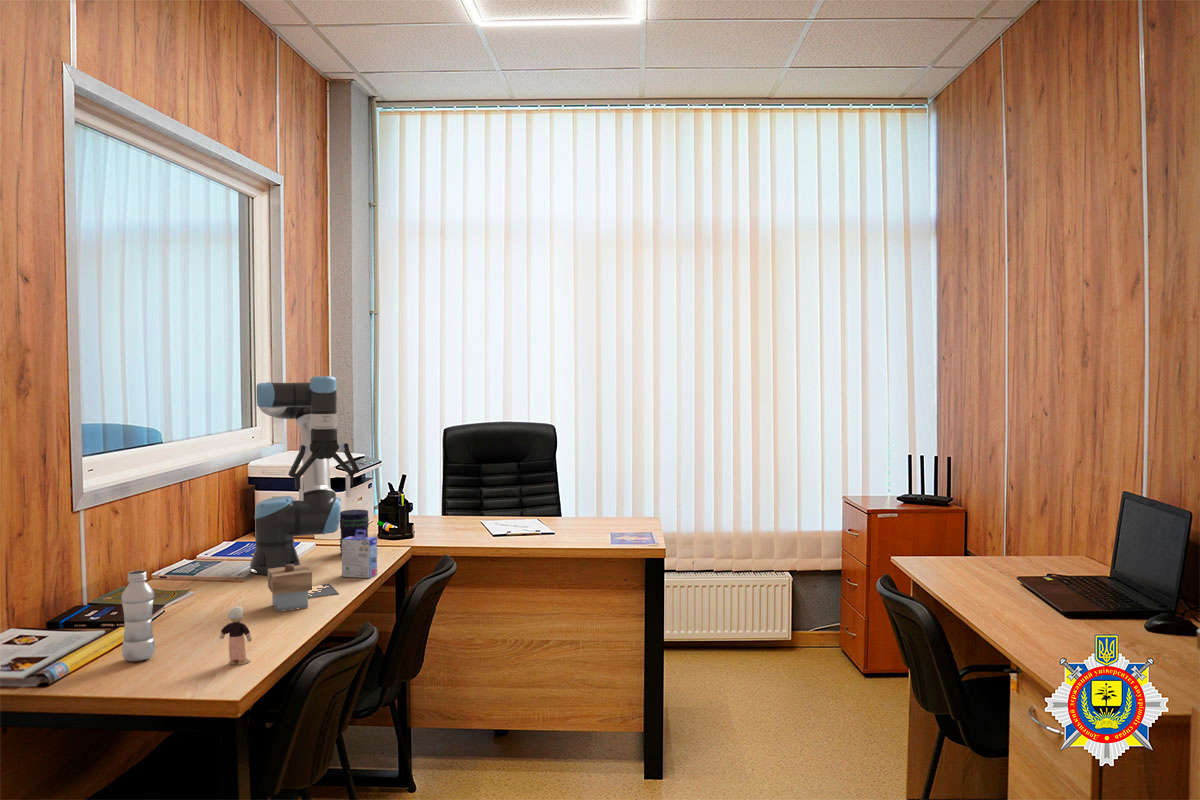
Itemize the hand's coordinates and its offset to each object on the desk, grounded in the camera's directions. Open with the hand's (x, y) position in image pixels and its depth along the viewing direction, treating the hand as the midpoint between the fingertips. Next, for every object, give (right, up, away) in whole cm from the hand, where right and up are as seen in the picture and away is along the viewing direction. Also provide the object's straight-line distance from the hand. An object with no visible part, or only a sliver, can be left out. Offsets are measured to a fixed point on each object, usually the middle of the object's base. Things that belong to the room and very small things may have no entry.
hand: (324, 498), depth 249 cm
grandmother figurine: (+1, -30, -63) cm, 69 cm away
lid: (-3, -23, -19) cm, 30 cm away
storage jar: (-4, -25, +45) cm, 51 cm away
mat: (-2, -27, -5) cm, 27 cm away
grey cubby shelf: (-3, -28, -19) cm, 34 cm away
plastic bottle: (-22, -30, -61) cm, 71 cm away
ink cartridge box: (+6, -26, +14) cm, 31 cm away
